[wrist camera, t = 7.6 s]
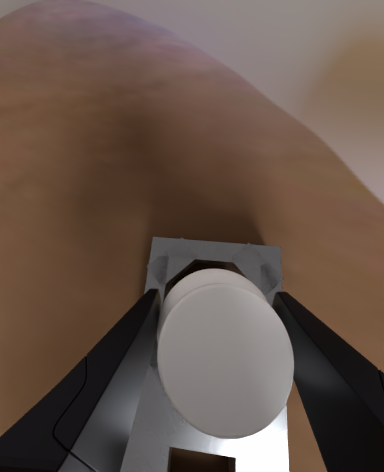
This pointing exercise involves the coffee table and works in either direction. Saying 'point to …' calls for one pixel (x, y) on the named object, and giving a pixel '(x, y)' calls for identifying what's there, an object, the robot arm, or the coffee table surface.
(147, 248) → the coffee table surface
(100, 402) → the robot arm
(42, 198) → the coffee table surface
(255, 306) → the supplement bottle
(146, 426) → the socket plate
